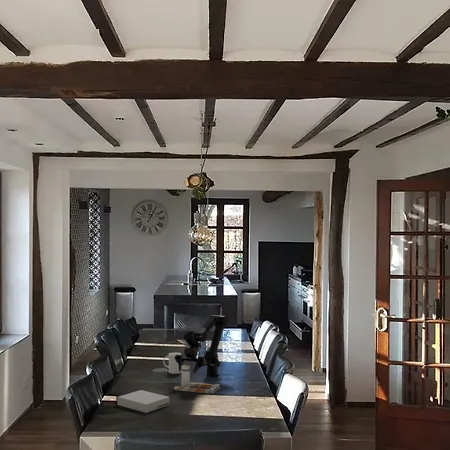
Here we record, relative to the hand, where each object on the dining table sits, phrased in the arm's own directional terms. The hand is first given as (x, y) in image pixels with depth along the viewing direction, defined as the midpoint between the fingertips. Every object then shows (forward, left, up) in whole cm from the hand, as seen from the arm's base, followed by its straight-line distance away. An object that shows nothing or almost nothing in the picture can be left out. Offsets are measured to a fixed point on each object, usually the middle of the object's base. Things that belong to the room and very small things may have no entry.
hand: (186, 372), depth 348 cm
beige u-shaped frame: (-3, +7, -9) cm, 12 cm away
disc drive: (+37, +11, -10) cm, 40 cm away
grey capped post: (+1, +1, -9) cm, 9 cm away
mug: (-16, -36, -9) cm, 40 cm away
